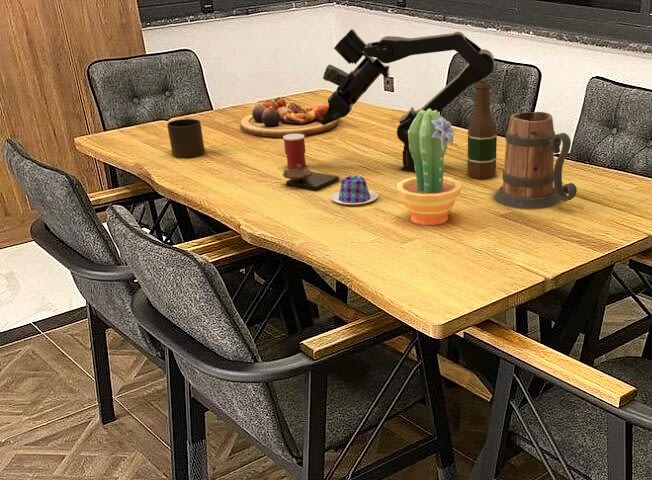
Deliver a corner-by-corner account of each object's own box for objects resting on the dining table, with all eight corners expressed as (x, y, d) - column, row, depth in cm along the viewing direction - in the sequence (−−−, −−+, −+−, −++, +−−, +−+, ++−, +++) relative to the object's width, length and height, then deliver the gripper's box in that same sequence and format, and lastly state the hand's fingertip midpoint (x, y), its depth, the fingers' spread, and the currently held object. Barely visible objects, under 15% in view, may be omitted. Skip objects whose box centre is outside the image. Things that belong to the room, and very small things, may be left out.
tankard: (480, 196, 212) (481, 115, 201) (526, 182, 221) (530, 104, 210) (548, 220, 197) (554, 134, 186) (595, 204, 206) (603, 121, 195)
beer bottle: (493, 180, 223) (496, 86, 210) (465, 178, 224) (465, 85, 211) (497, 171, 229) (500, 79, 216) (469, 170, 231) (470, 79, 218)
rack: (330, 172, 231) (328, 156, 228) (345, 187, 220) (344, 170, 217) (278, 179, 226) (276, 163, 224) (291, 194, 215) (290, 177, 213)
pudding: (384, 193, 215) (383, 173, 212) (369, 208, 205) (367, 187, 202) (340, 190, 218) (339, 170, 215) (323, 205, 208) (321, 184, 205)
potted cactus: (406, 233, 191) (403, 120, 177) (390, 211, 203) (385, 105, 190) (470, 225, 194) (471, 115, 181) (450, 204, 207) (450, 99, 193)
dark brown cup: (194, 146, 256) (189, 115, 251) (210, 154, 248) (205, 123, 243) (165, 151, 251) (159, 120, 247) (179, 160, 243) (173, 128, 238)
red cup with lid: (310, 168, 235) (307, 137, 230) (291, 171, 232) (288, 140, 228) (302, 163, 239) (299, 132, 234) (283, 166, 236) (279, 135, 232)
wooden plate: (357, 121, 279) (356, 95, 275) (296, 143, 257) (293, 115, 252) (284, 110, 294) (282, 85, 289) (220, 130, 271) (216, 104, 267)
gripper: (345, 48, 226) (309, 90, 233) (333, 60, 211) (295, 106, 217) (376, 78, 230) (339, 119, 237) (366, 93, 214) (327, 137, 221)
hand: (325, 119), depth 228 cm, fingers open, 9 cm apart
